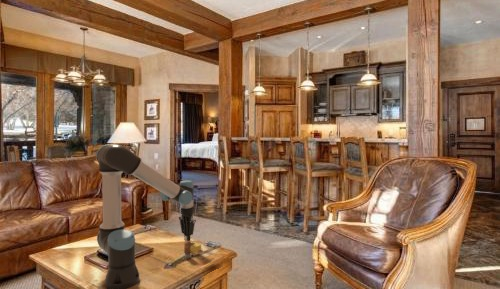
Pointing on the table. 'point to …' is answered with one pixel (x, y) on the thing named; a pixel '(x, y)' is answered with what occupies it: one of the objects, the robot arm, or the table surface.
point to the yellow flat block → (195, 247)
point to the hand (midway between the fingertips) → (187, 245)
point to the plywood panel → (204, 251)
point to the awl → (187, 249)
